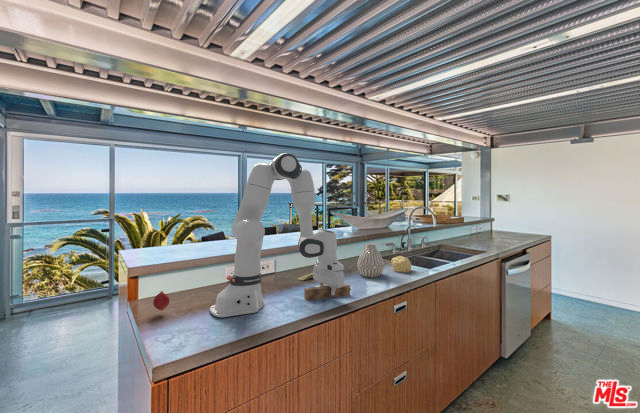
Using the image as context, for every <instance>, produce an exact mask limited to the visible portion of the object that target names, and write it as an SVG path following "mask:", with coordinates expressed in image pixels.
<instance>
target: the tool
mask: <svg viewBox="0 0 640 413" xmlns="http://www.w3.org/2000/svg"><path fill="white" fill-rule="evenodd" d="M311 279H313V272H311V273H307V274H305V275H302V276H300V277H298V278H297V280H298V281H306V280H311Z"/></svg>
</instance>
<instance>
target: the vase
mask: <svg viewBox="0 0 640 413" xmlns="http://www.w3.org/2000/svg"><path fill="white" fill-rule="evenodd" d="M384 263H385V262H384V259H383V256H382V255H381V253H380V252H379V250H378V249H377V245H376V243H366V244H365V245H364V248H363V250H362V251H361V253H360V254H359V257H358V259H357V263H356V264H357V270H358V272H359V274H360V275H361V276H362V277H364V278H377V277H380V276H381V275H382V274H383V272H384V270H385V264H384Z"/></svg>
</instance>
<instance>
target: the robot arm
mask: <svg viewBox="0 0 640 413" xmlns="http://www.w3.org/2000/svg"><path fill="white" fill-rule="evenodd" d="M252 167H253V168H252V169H251V171H250V173H249V176H248V179H247V182H246V186H245V188H244V192H243V196H242V199H241V203H240V205H239V208H238V209H237V213H236V215H235V219H234V220H233V223H232V227H231V232H232V235H233V236H234V238H235V239H236V248H235V254H234V274H233V275H230V274H228V275H227V276H226V280H227V281H229V284H228V285H227V286H226V287H225V288H223V289H222V290H221V291H220V292H219V293H218V294H217V295H216V300H215V303H214V304H213V305H211V306H210V307H209V312H210V313H211V314H212V316H215V317H218V318H227V317H234V316H239V315H247V314H254V313H258V312H259V311H260V309H262V308H264V306H265V303H264V300H263V295H262V282H263V281H262V279H263V278H262V272H261V256H262V255H261V254H262V250H263V249H262V248H263V241H264V237H265V236H266V234H265V233H266V229H265V226H264V224H263V223H262V222H261V219H262V218H263V217H262V216H263V214H265V211H266V209H267V207H268V204H269V200H270V196H271V191H272V188H273V185H274V182H275V181H282V180H287V182H288V183H289V186H290V192H291V200H292V203H293V207H294V209H295V210H294V211H295V212H296V214H297V216H298V221H299V229H300V230H299V231H300V234H299V235H300V236H299V239H298V243H297V247H298V251H299V253H300V254H301V255H302V257H304V258H307V259H312V258H316V257H318V258H317V260H316V261H315V263H314V266H313V270H312V273H313V278H312V279H313V280H314V281H317V282H318V285H320V286H324V283H325V284H328V285H330V286H331V288H332V290H331V291H330V295H335V290H336V288H341V287H343V286H344V284H345V272H344V271H343V270H345V266H344V264H342V263H341V262H340V261H339V260H338V256H337V250H338V239H337V234H336V233H335V232H334V231H332V230H328V229H320V230H319V231H317V232H316V233H314V231H313V230H314V229H313V221H312V218H313V217H312V214H313V211H314V208H315V205H316V191H315V185H314V184H315V183H314V180H313V176H312V173H311V171H309V170H308V169H306V168H303V167H302V165H301V164H300V162H299V159H298V158H297V157H296V156H295V155H294V154H292V153H290V152H284V153H280V154H279V155H277V156H275V157H274V158H273V160H271V161H270V162H269V163H264V162H263V163H262V162H259V163H257V164H255V165H254V166H252Z"/></svg>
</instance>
